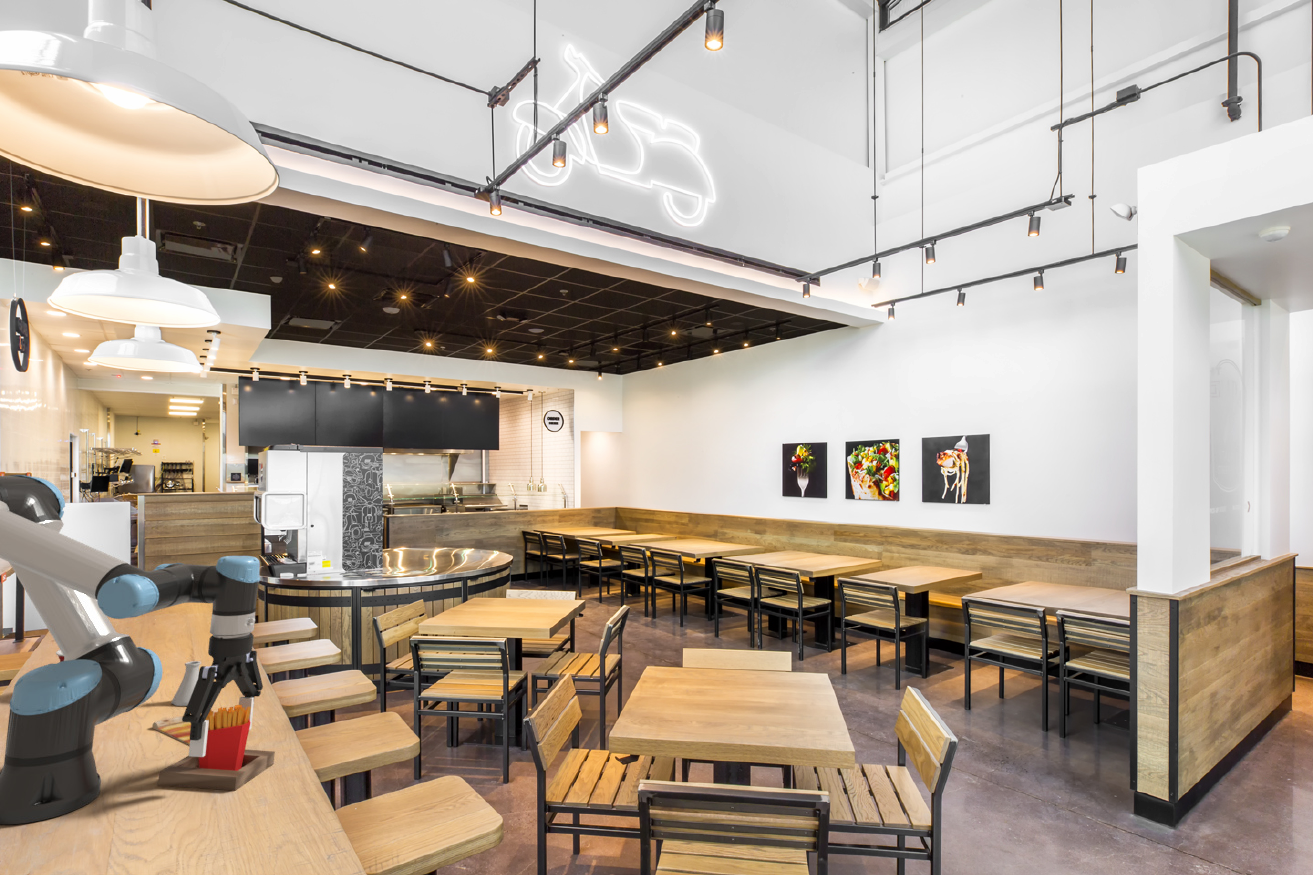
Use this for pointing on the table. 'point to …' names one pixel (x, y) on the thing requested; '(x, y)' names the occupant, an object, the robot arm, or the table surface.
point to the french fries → (226, 738)
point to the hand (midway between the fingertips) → (221, 742)
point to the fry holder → (215, 772)
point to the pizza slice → (175, 728)
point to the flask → (187, 684)
